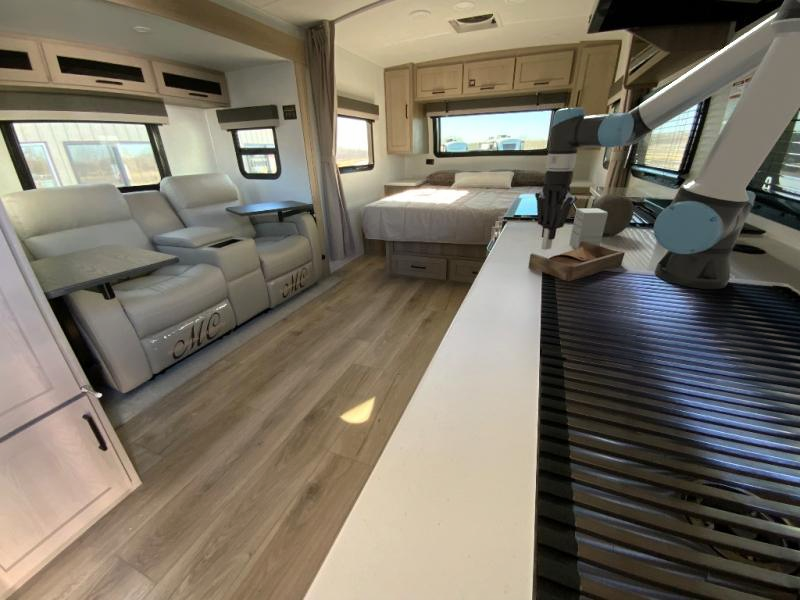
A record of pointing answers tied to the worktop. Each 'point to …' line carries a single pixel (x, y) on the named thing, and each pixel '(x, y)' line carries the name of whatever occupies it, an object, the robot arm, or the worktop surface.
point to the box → (603, 261)
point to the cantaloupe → (615, 213)
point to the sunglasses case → (573, 257)
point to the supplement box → (588, 226)
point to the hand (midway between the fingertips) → (546, 248)
